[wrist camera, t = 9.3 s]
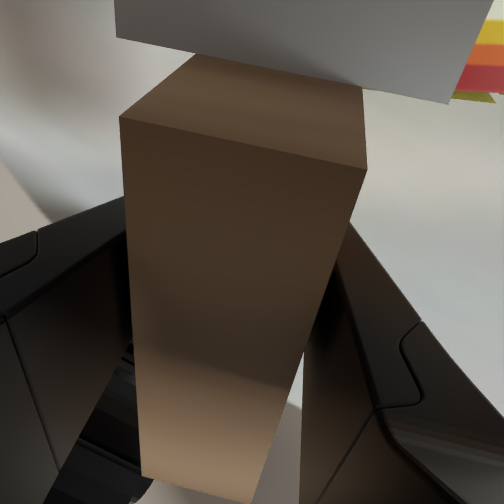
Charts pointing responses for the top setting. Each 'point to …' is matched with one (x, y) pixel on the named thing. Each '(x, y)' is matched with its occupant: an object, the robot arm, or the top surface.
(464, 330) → the top surface
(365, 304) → the robot arm
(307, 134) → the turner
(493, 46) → the baking soda box
